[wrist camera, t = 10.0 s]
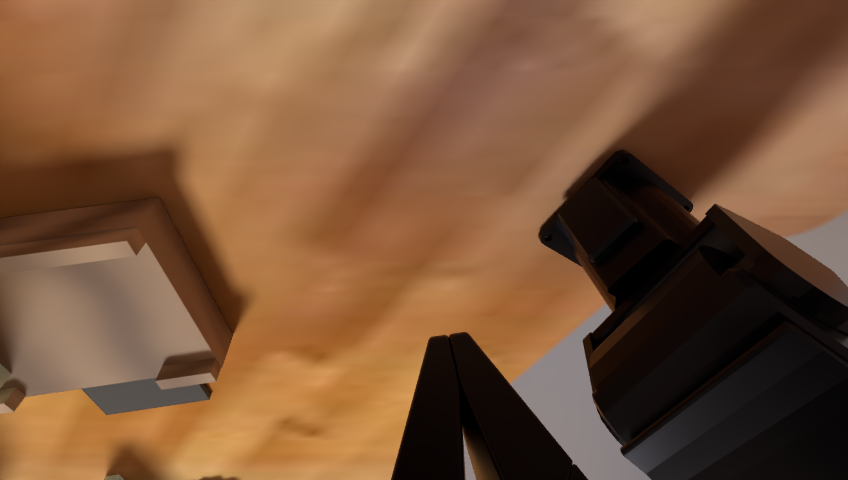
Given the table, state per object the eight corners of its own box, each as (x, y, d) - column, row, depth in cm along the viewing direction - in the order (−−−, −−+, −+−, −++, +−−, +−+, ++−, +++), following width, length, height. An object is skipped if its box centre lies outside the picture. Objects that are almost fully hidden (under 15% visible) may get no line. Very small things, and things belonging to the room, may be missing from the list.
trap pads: (8, 91, 17) (1, 94, 17) (211, 394, 29) (209, 399, 29) (-306, 128, 16) (-319, 132, 16) (35, 420, 29) (32, 426, 28)
